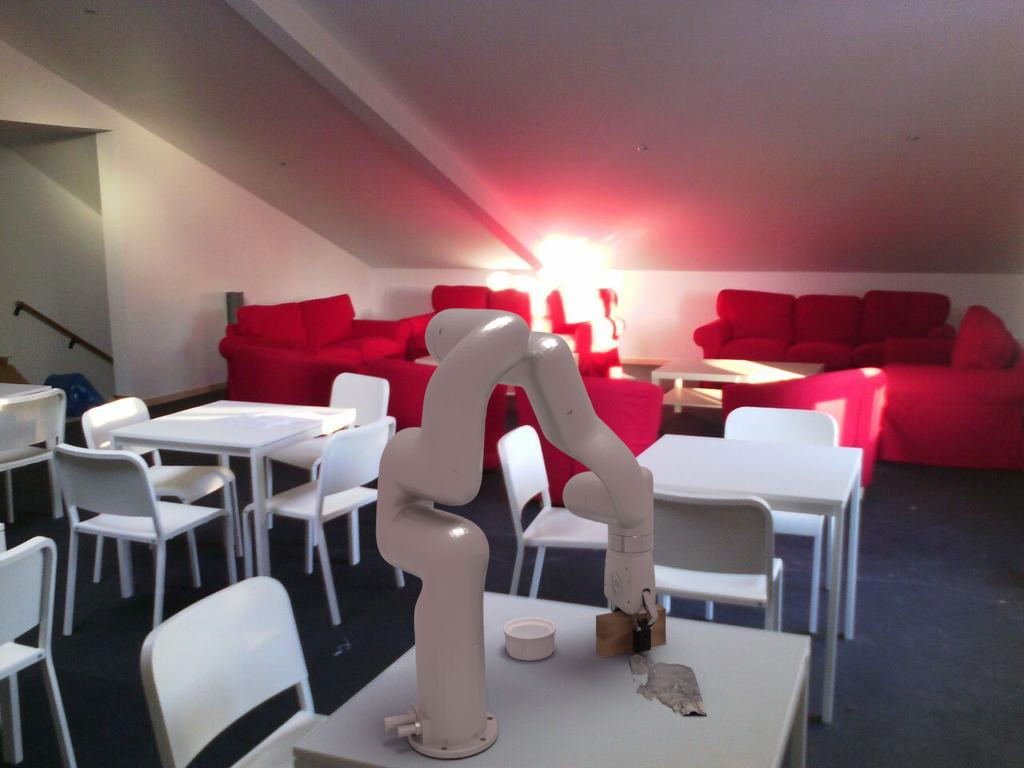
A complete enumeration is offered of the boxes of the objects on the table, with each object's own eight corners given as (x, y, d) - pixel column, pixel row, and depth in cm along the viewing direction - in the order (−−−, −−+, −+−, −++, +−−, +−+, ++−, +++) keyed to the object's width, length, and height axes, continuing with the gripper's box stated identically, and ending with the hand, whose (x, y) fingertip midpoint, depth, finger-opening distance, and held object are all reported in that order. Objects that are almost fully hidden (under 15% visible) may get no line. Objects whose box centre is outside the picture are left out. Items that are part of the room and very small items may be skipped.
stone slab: (625, 654, 144) (687, 650, 144) (626, 665, 144) (687, 660, 144) (640, 714, 126) (709, 710, 126) (640, 726, 127) (710, 721, 126)
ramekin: (500, 643, 152) (499, 619, 151) (550, 638, 153) (549, 614, 153) (508, 665, 143) (507, 640, 143) (561, 660, 145) (561, 635, 144)
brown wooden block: (602, 658, 145) (602, 620, 144) (595, 651, 148) (595, 615, 147) (665, 645, 150) (665, 608, 149) (657, 639, 152) (657, 603, 151)
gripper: (587, 529, 153) (588, 627, 155) (636, 559, 137) (637, 668, 139) (625, 523, 155) (626, 619, 158) (678, 552, 139) (678, 659, 142)
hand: (631, 641), depth 148 cm, fingers open, 6 cm apart
